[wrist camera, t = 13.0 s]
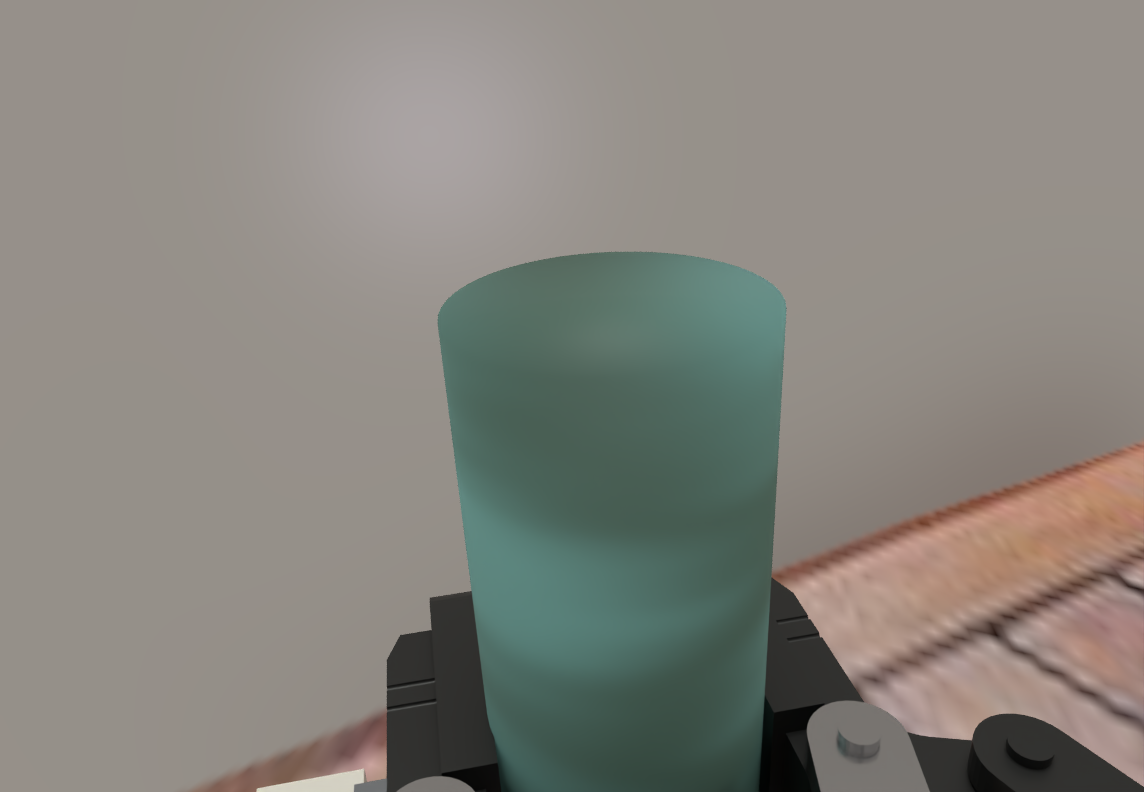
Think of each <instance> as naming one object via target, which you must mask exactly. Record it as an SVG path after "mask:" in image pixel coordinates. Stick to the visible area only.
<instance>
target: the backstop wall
mask: <svg viewBox="0 0 1144 792" xmlns="http://www.w3.org/2000/svg"><path fill="white" fill-rule="evenodd" d="M366 782H367V780H366V775H365V771H364V769H360V770H355V771H350V772H344V773H339V774H333V775H328V776H322V777H317V778H312V779H306V780H301V781H295V782H290V783H285V784H279V785H274V786H268V787H263V788H257V792H354V785H355V784H360V783H366Z"/></svg>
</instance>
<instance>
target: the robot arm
mask: <svg viewBox="0 0 1144 792" xmlns="http://www.w3.org/2000/svg"><path fill="white" fill-rule="evenodd" d="M430 612H431V627H432V630H429V631H423V632H417V633H411V634H405V635H400V637H399V639H398V640H397V642H396V644H395V646H394V648H393V650H392V652H391V653H390V655H389V657H388V659H387V792H501V785H500V777H499V768H498V761H497V753H496V746H495V739H494V736H493V733H492V731H491V728H490V725H489V720H488V715H487V708H486V700H485V693H484V685H483V677H482V669H481V661H480V653H479V645H478V637H477V629H476V622H475V614H474V606H473V598H472V591H470V592H464V593H457V594H451V595H444V596H438V597H432V598H430ZM759 792H1144V787H1143V786H1141V785H1140V784H1139V783H1137V782H1136V781H1134V780H1133V779H1131V778H1130V777H1128V776H1127V775H1125V774H1124V773H1122V772H1121V771H1119V770H1118V769H1116V768H1115V767H1114V766H1112V765H1111V764H1109V763H1108V762H1106V761H1105V760H1103V759H1102V758H1100V757H1099V756H1097V755H1096V754H1094V753H1093V752H1092V751H1090V750H1089V749H1087V748H1086V747H1084V746H1083V745H1081V744H1080V743H1078V742H1077V741H1075V740H1074V739H1072V738H1071V737H1070V736H1068V735H1067V734H1065V733H1064V732H1062V731H1061V730H1059V729H1057V728H1056V727H1054V726H1052V725H1051V724H1048V723H1046V722H1044V721H1042V720H1039V719H1036V718H1034V717H1030V716H1025V715H1020V714H999V715H995V716H991V717H989V718H987V719H985V720H983V721H982V722H981V723H980V724H979V725H978V726H977V727H976V729H975V731H974V734H973V739H972V741H971V740H960V739H948V738H936V737H927V736H920V735H916V734H912V733H908V732H907V731H906V730H905V728H904V727H903V726H902V724H901V723H900V722H899V721H898V720H897V719H896V718H894V717H893V716H892V715H891V714H889V713H888V712H886V711H884V710H882V709H881V708H878V707H876V706H874V705H871V704H867V703H864V701H863V700H862V698H861V697H860V695H859V694H858V692H857V691H856V689H855V687H854V686H853V684H852V683H851V681H850V680H849V678H848V677H847V675H846V674H845V672H844V670H843V669H842V667H841V666H840V664H839V663H838V661H837V660H836V658H835V657H834V655H833V653H832V652H831V650H830V649H829V647H828V646H827V644H826V643H825V641H824V640H823V638H822V637H821V638H820V636H819V632H818V630H817V629H816V627H815V626H814V624H813V623H812V621H811V619H808V615H807V613H806V612H805V610H804V609H803V607H802V606H801V604H800V603H799V601H798V599H797V598H796V596H795V595H794V593H793V592H791V591H790V590H788V589H787V588H786V587H784V586H783V585H781V584H780V583H778V582H777V581H776V580H774V579H773V578H771V590H770V608H769V626H768V644H767V661H766V679H765V697H764V714H763V732H762V750H761V768H760V785H759Z"/></svg>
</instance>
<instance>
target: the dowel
mask: <svg viewBox="0 0 1144 792" xmlns="http://www.w3.org/2000/svg"><path fill="white" fill-rule="evenodd" d="M785 324H786V303H785V299H784V298H783V296H782V294H781V293H780V291H779V290H778V289H777V288H776V287H775V286H774V285H773V284H771V283H770V282H768V281H767V280H765V279H764V278H762V277H760V276H758V275H756V274H754V273H753V272H750V271H747V270H745V269H742V268H740V267H737V266H733V265H730V264H727V263H723V262H719V261H715V260H710V259H705V258H699V257H694V256H686V255H678V254H668V253H655V252H654V253H653V252H604V253H589V254H578V255H570V256H562V257H555V258H550V259H544V260H539V261H534V262H529V263H525V264H521V265H517V266H513V267H510V268H506V269H503V270H500V271H497V272H494V273H492V274H489V275H487V276H484V277H482V278H479V279H477V280H475V281H473V282H472V283H470V284H468V285H466V286H464V287H463V288H461V289H460V290H458V291H457V292H455V293H454V294H453V295H452V296H451V297H450V298H448V299H447V301H446V302H445V303H444V304H443V306H442V307H441V309H440V312H439V314H438V330H439V337H440V345H441V353H442V361H443V369H444V377H445V385H446V393H447V400H448V409H449V416H450V423H451V431H452V440H453V447H454V456H455V463H456V471H457V479H458V487H459V495H460V503H461V510H462V519H463V527H464V535H465V543H466V551H467V558H468V566H469V574H470V582H471V590H472V598H473V606H474V614H475V622H476V629H477V637H478V645H479V653H480V661H481V669H482V677H483V685H484V693H485V700H486V708H487V715H488V720H489V725H490V728H491V731H492V733H493V736H494V739H495V746H496V753H497V761H498V768H499V777H500V785H501V792H759V785H760V768H761V750H762V732H763V714H764V697H765V679H766V661H767V644H768V626H769V608H770V590H771V573H772V555H773V554H772V553H773V535H774V519H775V502H776V484H777V466H778V448H779V431H780V413H781V395H782V377H783V360H784V342H785Z"/></svg>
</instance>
